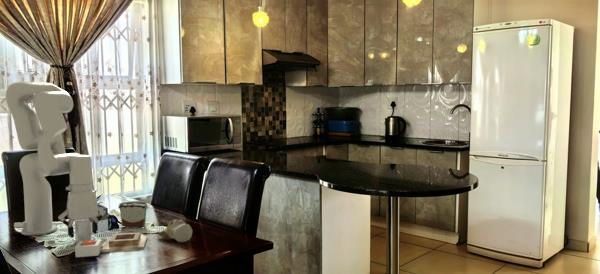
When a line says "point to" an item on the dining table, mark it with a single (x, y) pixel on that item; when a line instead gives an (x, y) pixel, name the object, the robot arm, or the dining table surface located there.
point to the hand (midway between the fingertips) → (83, 234)
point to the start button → (88, 242)
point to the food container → (133, 213)
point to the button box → (88, 249)
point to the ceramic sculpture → (177, 230)
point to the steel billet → (82, 230)
